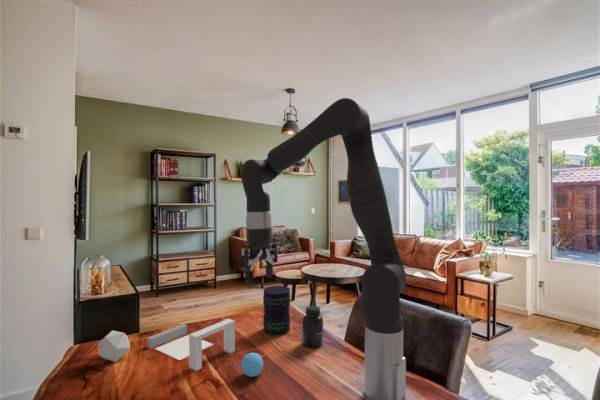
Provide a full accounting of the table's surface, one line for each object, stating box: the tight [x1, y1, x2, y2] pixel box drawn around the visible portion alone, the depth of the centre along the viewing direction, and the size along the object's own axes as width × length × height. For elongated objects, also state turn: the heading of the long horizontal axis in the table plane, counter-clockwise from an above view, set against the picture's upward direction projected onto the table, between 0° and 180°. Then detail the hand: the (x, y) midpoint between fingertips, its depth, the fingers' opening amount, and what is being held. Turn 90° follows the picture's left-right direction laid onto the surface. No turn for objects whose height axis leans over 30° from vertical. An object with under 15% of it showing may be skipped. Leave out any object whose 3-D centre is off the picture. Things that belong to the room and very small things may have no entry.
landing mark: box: [154, 334, 214, 361], centre depth 111 cm, size 13×13×1 cm
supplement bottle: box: [302, 305, 324, 349], centre depth 113 cm, size 7×7×12 cm
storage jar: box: [262, 285, 291, 337], centre depth 124 cm, size 10×10×15 cm
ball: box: [240, 352, 264, 378], centre depth 93 cm, size 6×6×6 cm
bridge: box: [188, 318, 236, 372], centre depth 103 cm, size 3×15×10 cm, turn 145°
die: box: [97, 330, 131, 363], centre depth 103 cm, size 8×9×10 cm
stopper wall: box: [146, 324, 188, 349], centre depth 116 cm, size 2×14×3 cm, turn 145°
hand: (259, 280), depth 102 cm, fingers open, 8 cm apart
